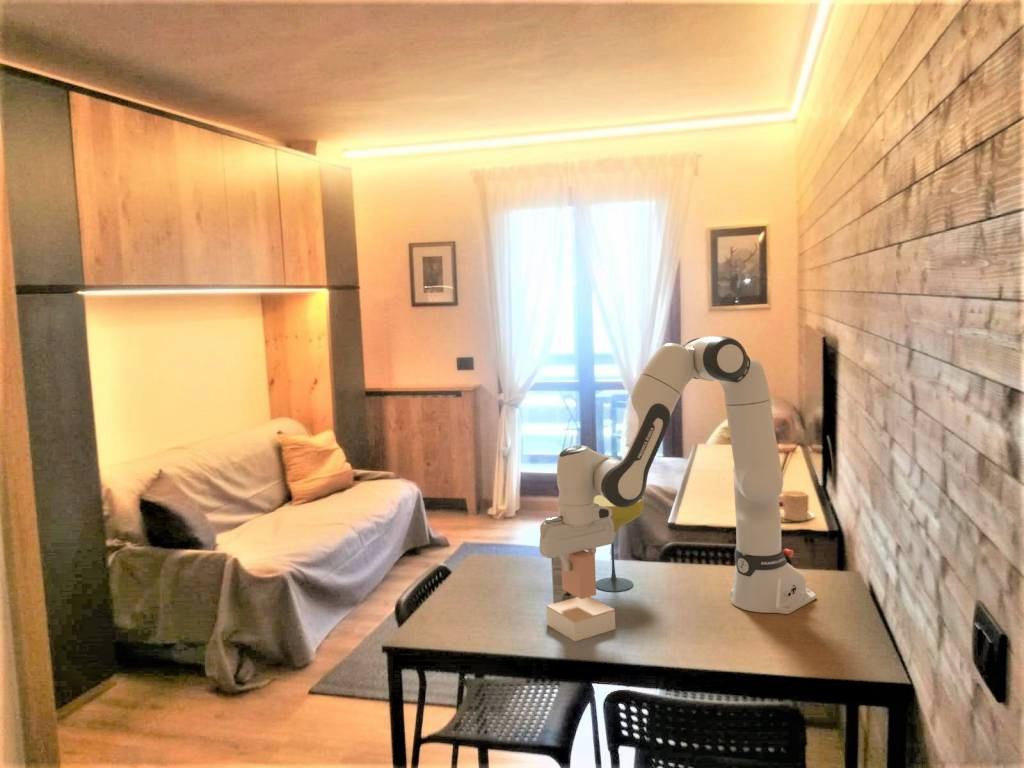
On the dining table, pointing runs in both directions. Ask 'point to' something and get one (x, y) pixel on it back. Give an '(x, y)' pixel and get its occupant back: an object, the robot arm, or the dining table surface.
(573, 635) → the podium
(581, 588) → the carton
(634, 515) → the cocktail glass
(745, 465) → the robot arm
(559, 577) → the coffee box
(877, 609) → the dining table surface
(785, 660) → the dining table surface
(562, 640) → the dining table surface
